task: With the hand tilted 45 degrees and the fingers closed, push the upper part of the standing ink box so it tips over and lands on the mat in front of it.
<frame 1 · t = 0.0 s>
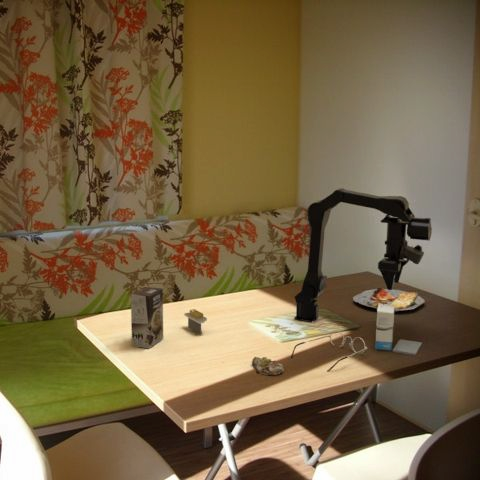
hand: (393, 286, 219), 15 cm above the table, tool pointing down, fingers open, 9 cm apart
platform: (196, 332, 221), on the table
mineral rock: (267, 370, 191), on the table
coffee box: (148, 343, 210), on the table
mat: (407, 348, 207), on the table
food plate: (388, 304, 251), on the table
eyeglasses: (329, 358, 200), on the table
ink box: (383, 345, 209), on the table
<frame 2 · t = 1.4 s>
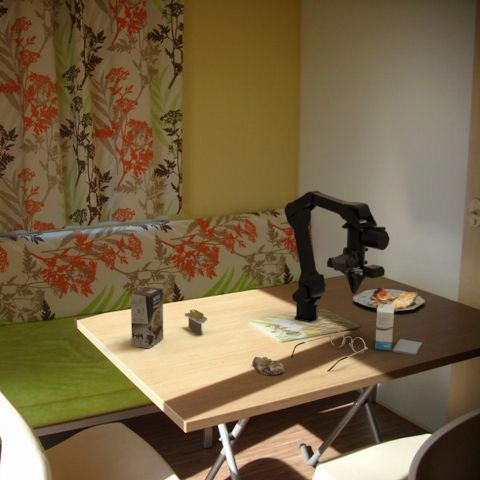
hand: (353, 293, 216), 13 cm above the table, tool pointing down, fingers closed
nothing on the table moved.
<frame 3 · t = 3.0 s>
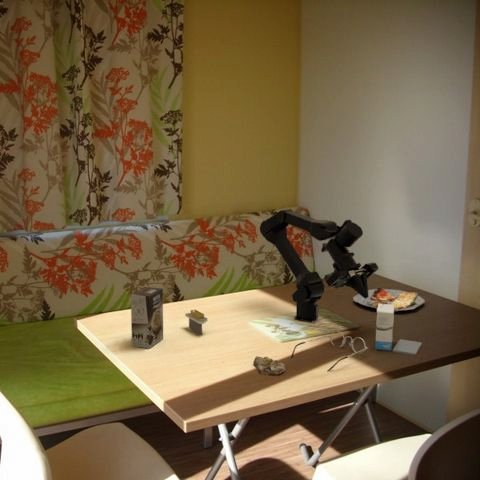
hand: (366, 297, 212), 13 cm above the table, tool tilted 45°, fingers closed
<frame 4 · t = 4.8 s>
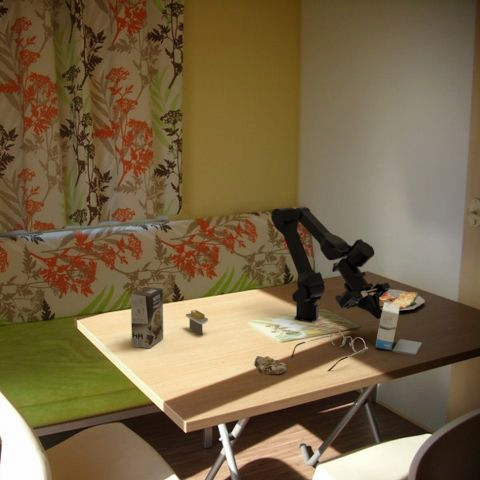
hand: (379, 318, 209), 8 cm above the table, tool tilted 45°, fingers closed
ink box: (383, 344, 209), on the table, touching gripper
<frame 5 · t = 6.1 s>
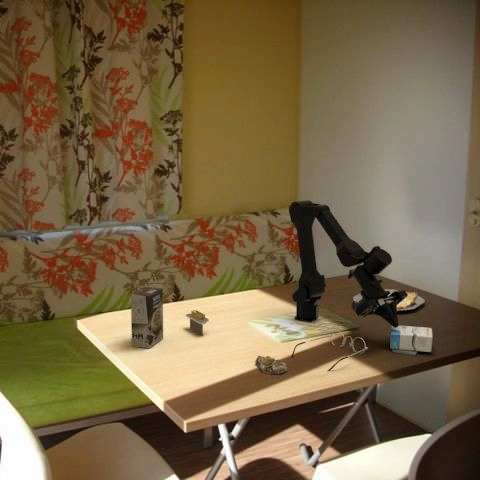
hand: (396, 327, 205), 7 cm above the table, tool tilted 45°, fingers closed
ink box: (390, 336, 208), point 3 cm above the table, touching mat
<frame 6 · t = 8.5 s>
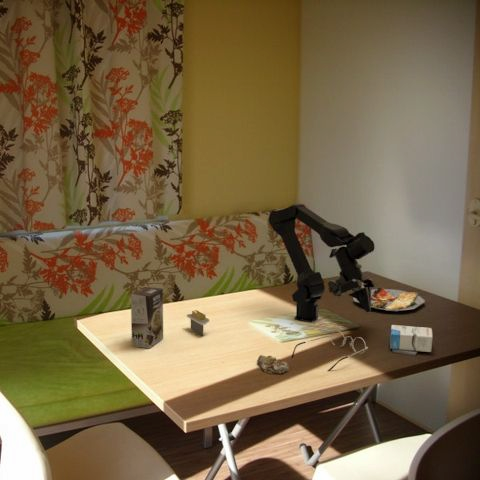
hand: (369, 312, 212), 9 cm above the table, tool tilted 35°, fingers closed
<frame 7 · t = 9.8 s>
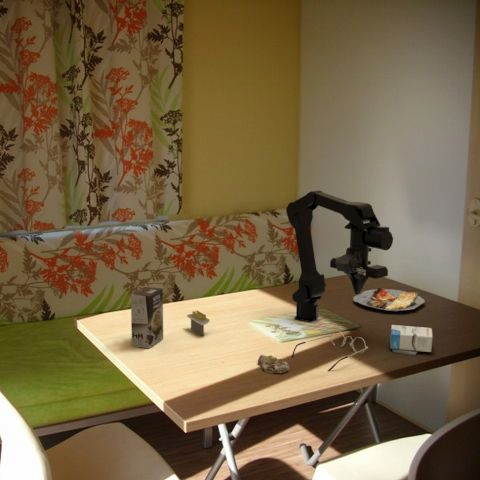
hand: (357, 294, 216), 13 cm above the table, tool pointing down, fingers closed
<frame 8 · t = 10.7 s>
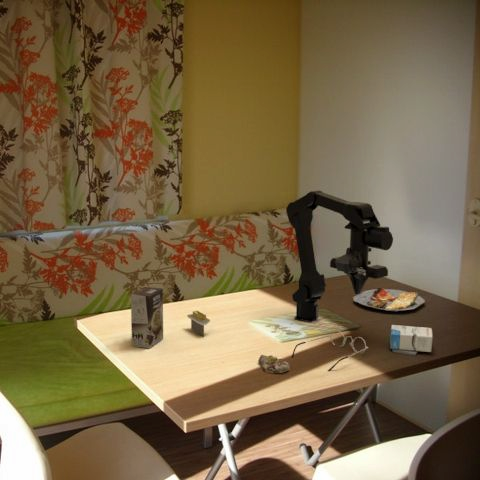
hand: (357, 294, 216), 13 cm above the table, tool pointing down, fingers closed
at the end: ink box tilted 90°; ink box inside the target area (7.5 cm from its centre), point 3.0 cm above the table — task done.
